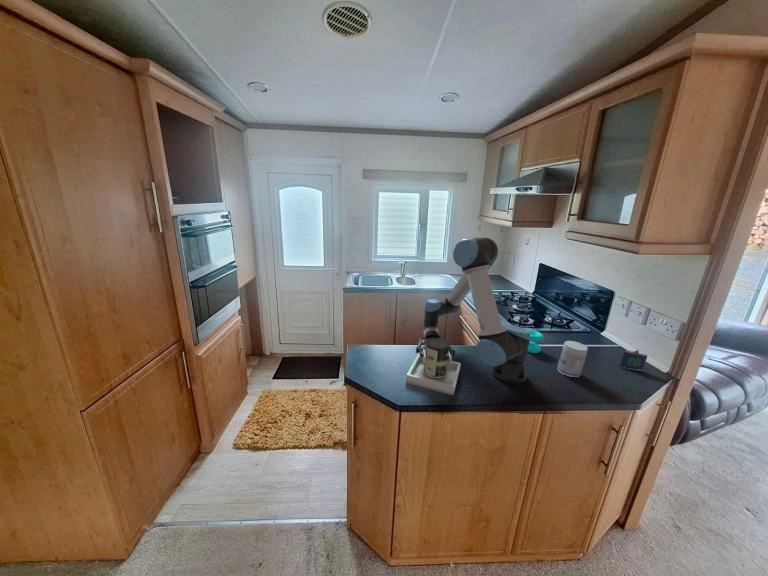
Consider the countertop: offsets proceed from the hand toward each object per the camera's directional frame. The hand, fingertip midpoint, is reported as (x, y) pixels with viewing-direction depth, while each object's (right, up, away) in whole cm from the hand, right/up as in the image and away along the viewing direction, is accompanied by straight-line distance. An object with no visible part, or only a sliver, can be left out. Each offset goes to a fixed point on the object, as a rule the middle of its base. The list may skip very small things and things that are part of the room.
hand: (437, 360), depth 123 cm
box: (0, -9, +7) cm, 11 cm away
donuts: (+57, -3, +37) cm, 68 cm away
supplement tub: (+65, -10, +16) cm, 68 cm away
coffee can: (0, -7, +6) cm, 9 cm away
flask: (+100, -10, +22) cm, 103 cm away
